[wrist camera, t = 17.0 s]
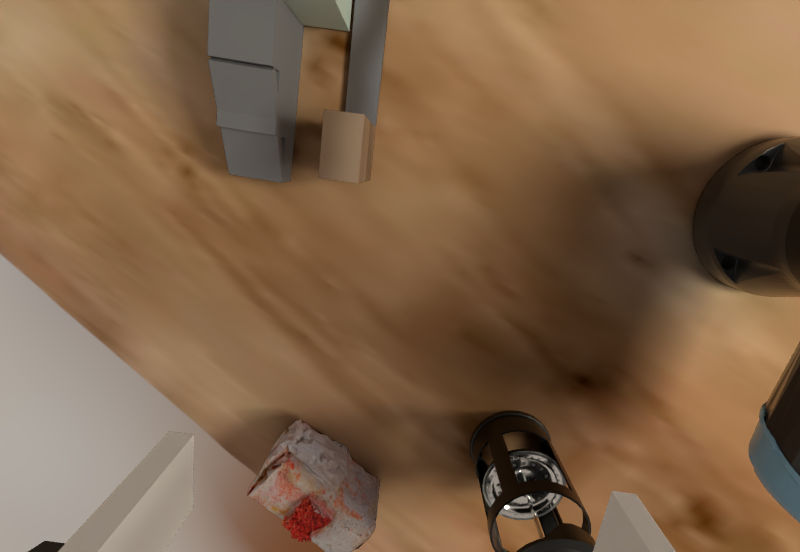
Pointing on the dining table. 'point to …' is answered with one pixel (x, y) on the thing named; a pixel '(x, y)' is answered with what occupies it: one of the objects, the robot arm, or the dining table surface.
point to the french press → (526, 485)
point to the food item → (318, 490)
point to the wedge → (256, 84)
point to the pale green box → (322, 13)
